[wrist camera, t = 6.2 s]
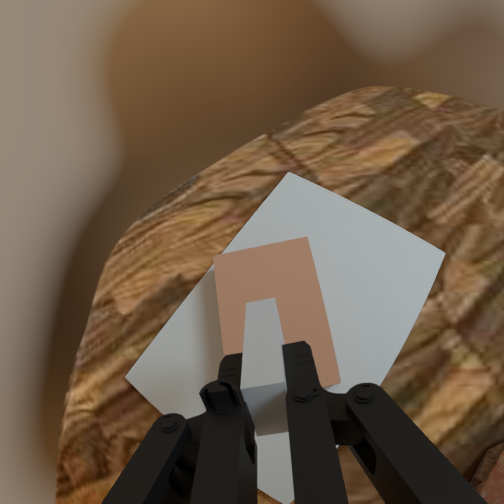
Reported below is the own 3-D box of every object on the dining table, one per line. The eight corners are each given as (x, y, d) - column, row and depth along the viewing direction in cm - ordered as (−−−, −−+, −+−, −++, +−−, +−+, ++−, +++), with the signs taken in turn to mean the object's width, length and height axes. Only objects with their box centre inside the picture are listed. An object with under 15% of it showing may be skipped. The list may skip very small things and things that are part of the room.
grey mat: (289, 176, 33) (288, 171, 32) (442, 256, 26) (445, 253, 25) (129, 378, 26) (124, 377, 25) (287, 503, 19) (287, 506, 18)
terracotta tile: (341, 382, 20) (307, 236, 26) (230, 402, 21) (212, 255, 26) (337, 384, 22) (307, 250, 28) (237, 402, 23) (220, 267, 29)
